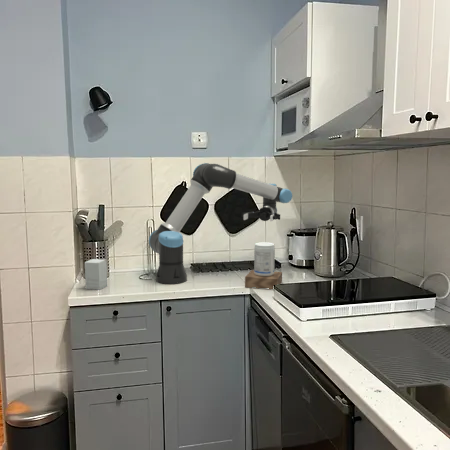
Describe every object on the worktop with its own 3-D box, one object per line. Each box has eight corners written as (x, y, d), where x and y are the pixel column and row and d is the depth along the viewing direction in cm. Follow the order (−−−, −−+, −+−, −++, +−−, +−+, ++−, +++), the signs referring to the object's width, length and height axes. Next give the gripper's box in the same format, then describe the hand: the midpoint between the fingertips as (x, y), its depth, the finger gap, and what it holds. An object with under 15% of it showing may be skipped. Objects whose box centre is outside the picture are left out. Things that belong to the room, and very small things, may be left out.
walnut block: (244, 287, 216) (245, 276, 216) (251, 279, 230) (251, 269, 229) (277, 289, 212) (277, 279, 211) (282, 282, 226) (282, 272, 225)
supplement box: (107, 286, 218) (107, 259, 216) (99, 290, 211) (98, 262, 209) (93, 284, 220) (92, 258, 218) (85, 289, 213) (84, 261, 211)
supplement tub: (261, 270, 227) (262, 241, 225) (278, 274, 221) (278, 243, 219) (249, 274, 220) (250, 243, 217) (266, 278, 214) (267, 246, 212)
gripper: (288, 221, 251) (282, 226, 230) (243, 219, 258) (233, 224, 237) (289, 207, 250) (282, 211, 229) (243, 205, 257) (233, 209, 236)
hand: (257, 217), depth 233 cm, fingers open, 13 cm apart
